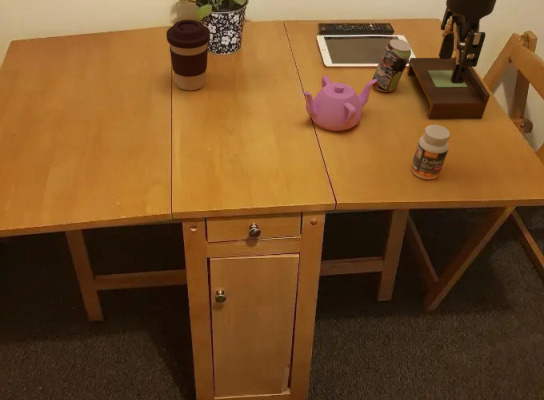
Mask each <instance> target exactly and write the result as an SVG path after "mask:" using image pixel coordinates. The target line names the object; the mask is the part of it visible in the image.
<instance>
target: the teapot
mask: <svg viewBox="0 0 544 400" xmlns="http://www.w3.org/2000/svg"><path fill="white" fill-rule="evenodd" d="M372 79H373V78H372ZM372 79H371V80H369V81H367V83H366V84H365V85H364V87H363V89H362V91H361V92H360V93H359V94H357V92H356V91H355V89H354V88H353V86H350V85H349V84H347V83H343V82H332V80H331V78H330V77H329V76H328V75H327V74H324V75H322V77H321V89H320V90H319V91H318V92H317V93H316V94H315V96H314V97H313V94H312V93H311V92H308V91H301V93H302V94H303V95H304V96H305V97H306V101H305V110H306V113H307V115H308V116H309V117H311V119H312V121H313V122H314V123H315V124H316V125H317V126H318V127H320V128H322V129H324V130H327V131H332V132H344V131H348V130H350V129H352V128H353V127H355V126H357V125H358V123H359V122H360V121H361V119H362V115H363V110H362V109H363V108H364V107H365V106H366V105H367V103H368V101H369V97H370V92H371V89H372V87H373V86H374V85H373V84H374V83H375V82H376V81H377V79H373V80H372Z"/></svg>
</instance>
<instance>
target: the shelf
mask: <svg viewBox="0 0 544 400" xmlns="http://www.w3.org/2000/svg"><path fill="white" fill-rule="evenodd" d="M462 53H463V51H462ZM408 62H409V63H408V67H407V70H406V75H407V76H415V77H416V79H417V80H418V82H419V85H420V87H421V89H422V91H423V92H424V94H425V96H426V98H427V100H428V103H429V105H430V106H429V109H428V113H427V118H428V120H473V119H475V120H476V119H477V120H478V119H479V120H480V119H481V120H482V119H483V116H484V113H485V111H486V108H487V105H488V102H489V99H490V97H491V94H490V93H489V90H488V89H487V88H486V87H485V85H484V83H483V82H482V80H481V79H480V77H479V76H478V74H477V72H476V71H475V69H474V67H469V68H468V71H467V74H466V77H465V80H464V82H463V83H461V84H456V83H452V82H451V80H450V79H451V75H452V72H453V69H454V66H455V62H456V55H455V56H454V57H451V58H450V59H440V57H410V58H409V61H408Z"/></svg>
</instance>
